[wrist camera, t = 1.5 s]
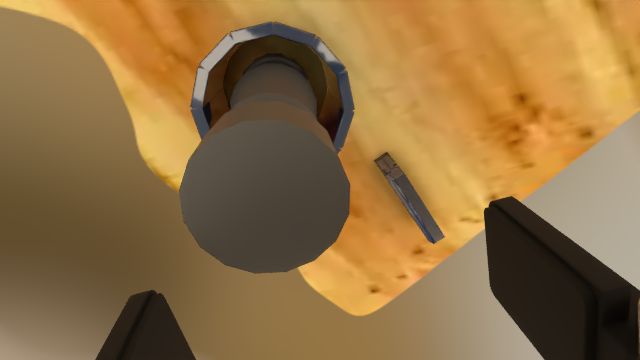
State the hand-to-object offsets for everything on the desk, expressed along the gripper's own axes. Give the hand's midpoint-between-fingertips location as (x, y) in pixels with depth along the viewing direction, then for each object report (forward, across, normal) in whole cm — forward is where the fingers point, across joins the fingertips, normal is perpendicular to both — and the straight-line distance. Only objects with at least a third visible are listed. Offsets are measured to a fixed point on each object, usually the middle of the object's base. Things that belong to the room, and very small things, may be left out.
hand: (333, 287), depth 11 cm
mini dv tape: (+28, -8, +11) cm, 31 cm away
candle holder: (+28, +2, -2) cm, 28 cm away
